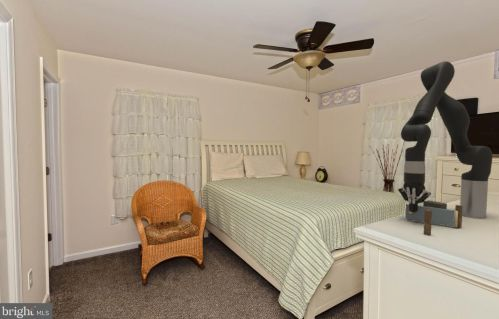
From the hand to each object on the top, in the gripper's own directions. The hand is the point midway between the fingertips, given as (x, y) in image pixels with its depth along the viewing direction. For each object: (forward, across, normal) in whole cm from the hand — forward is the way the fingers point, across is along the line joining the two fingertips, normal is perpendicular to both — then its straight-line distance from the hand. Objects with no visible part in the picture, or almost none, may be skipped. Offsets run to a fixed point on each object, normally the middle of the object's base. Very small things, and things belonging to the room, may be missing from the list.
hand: (413, 211), depth 104 cm
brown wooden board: (+5, -12, 0) cm, 12 cm away
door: (+4, -4, -4) cm, 7 cm away
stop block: (+5, -2, -12) cm, 13 cm away
